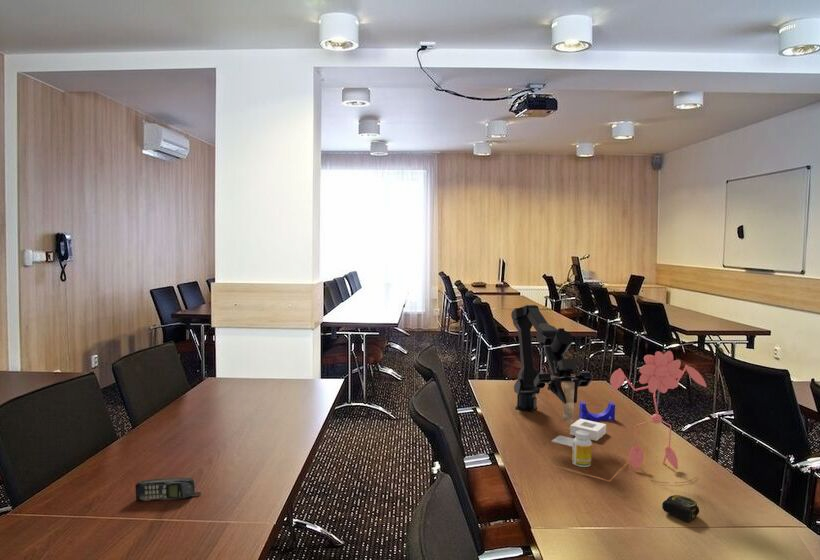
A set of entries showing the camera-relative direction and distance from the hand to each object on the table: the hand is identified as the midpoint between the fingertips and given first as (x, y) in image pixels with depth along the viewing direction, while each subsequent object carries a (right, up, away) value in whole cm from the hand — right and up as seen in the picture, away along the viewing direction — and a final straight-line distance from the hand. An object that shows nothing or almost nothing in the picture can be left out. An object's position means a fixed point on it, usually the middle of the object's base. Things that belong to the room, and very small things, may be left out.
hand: (570, 403), depth 174 cm
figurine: (+19, -15, -20) cm, 31 cm away
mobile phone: (-112, -15, -38) cm, 119 cm away
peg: (0, -6, +2) cm, 6 cm away
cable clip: (+17, -12, +25) cm, 33 cm away
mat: (-1, -13, +2) cm, 13 cm away
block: (+9, -13, +9) cm, 18 cm away
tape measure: (+13, -17, -44) cm, 49 cm away
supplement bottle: (-1, -15, -15) cm, 21 cm away
